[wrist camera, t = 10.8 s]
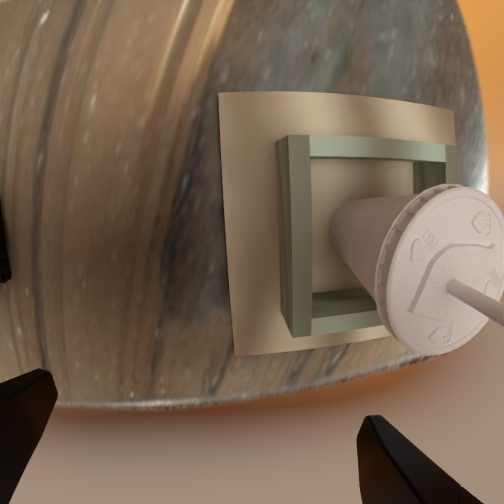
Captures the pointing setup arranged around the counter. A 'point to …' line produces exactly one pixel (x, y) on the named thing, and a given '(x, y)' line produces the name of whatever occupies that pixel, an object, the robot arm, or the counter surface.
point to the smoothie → (427, 262)
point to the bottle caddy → (314, 206)
